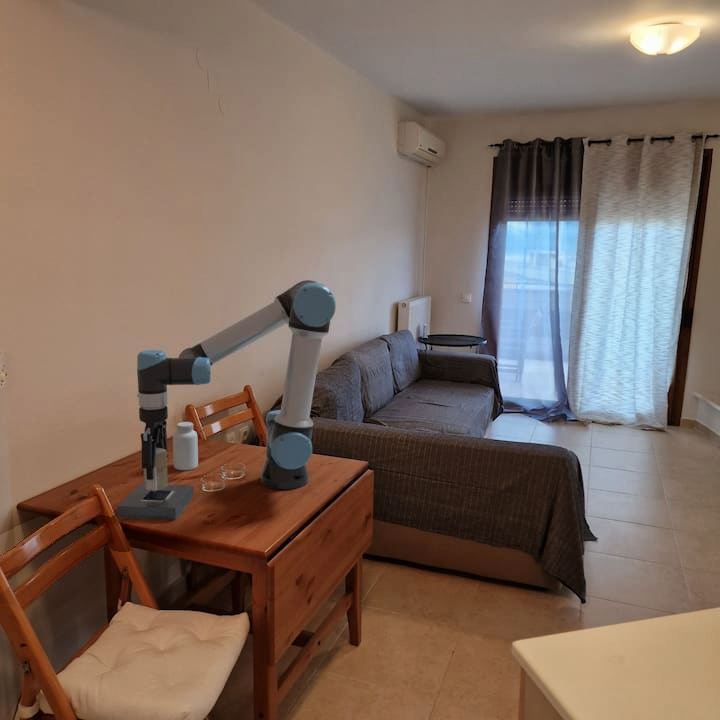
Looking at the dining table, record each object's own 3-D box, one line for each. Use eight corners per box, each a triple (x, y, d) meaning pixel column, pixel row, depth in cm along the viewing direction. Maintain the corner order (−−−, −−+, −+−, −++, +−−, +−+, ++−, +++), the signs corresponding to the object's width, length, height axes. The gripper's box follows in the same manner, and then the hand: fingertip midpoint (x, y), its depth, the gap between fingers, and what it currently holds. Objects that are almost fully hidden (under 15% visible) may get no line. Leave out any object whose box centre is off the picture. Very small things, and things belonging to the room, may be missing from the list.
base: (193, 496, 185) (193, 484, 185) (175, 520, 170) (175, 507, 169) (140, 494, 186) (140, 482, 185) (118, 517, 170) (117, 505, 170)
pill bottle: (203, 465, 211) (202, 423, 208) (185, 472, 204) (183, 428, 201) (187, 460, 215) (185, 419, 212) (168, 467, 208) (166, 424, 205)
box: (153, 492, 174) (152, 454, 171) (143, 488, 176) (141, 451, 174) (168, 486, 178) (167, 449, 176) (158, 482, 180) (157, 446, 178)
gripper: (152, 397, 182) (155, 471, 186) (125, 415, 163) (129, 497, 167) (178, 398, 182) (180, 472, 186) (153, 416, 163) (156, 499, 167)
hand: (156, 484), depth 177 cm, fingers closed on box, 6 cm apart
